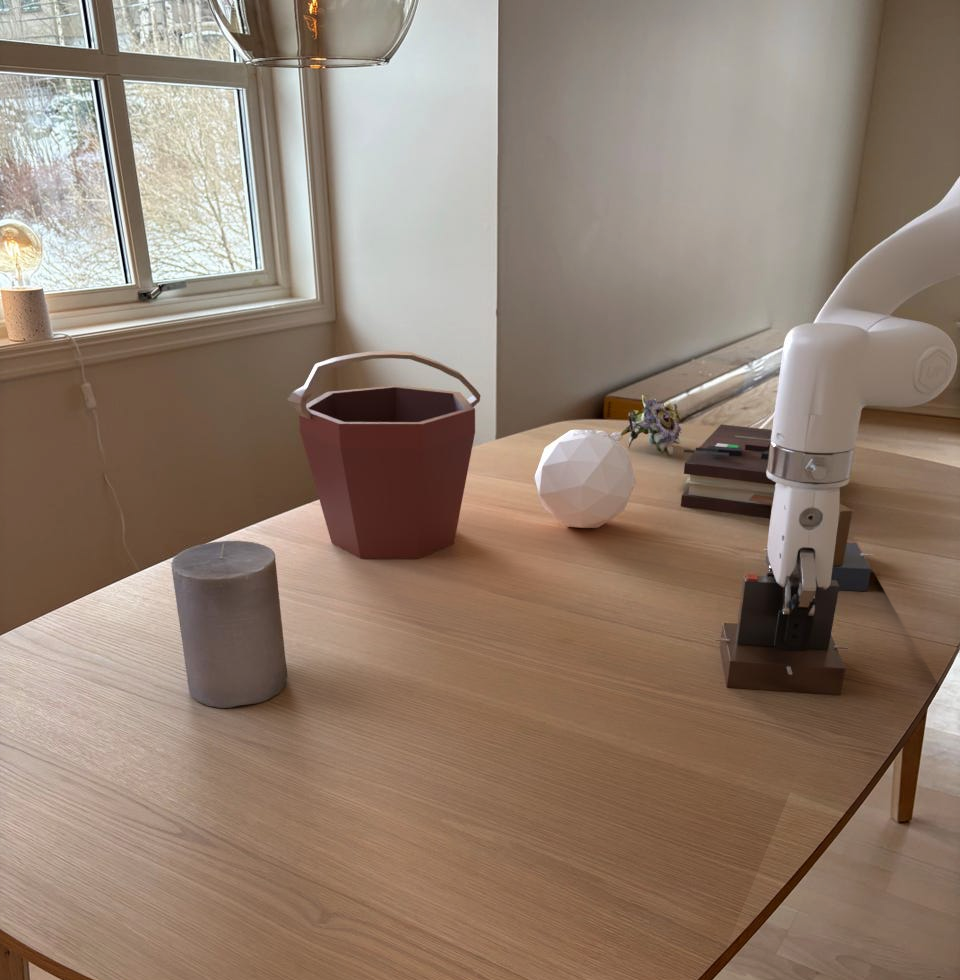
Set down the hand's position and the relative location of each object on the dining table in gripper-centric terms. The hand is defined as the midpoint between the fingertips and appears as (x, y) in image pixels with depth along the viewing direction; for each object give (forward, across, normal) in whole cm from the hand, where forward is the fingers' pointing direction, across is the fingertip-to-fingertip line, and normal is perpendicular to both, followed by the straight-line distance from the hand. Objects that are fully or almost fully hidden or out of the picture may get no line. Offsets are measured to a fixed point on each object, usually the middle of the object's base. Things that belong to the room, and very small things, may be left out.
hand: (783, 628), depth 100 cm
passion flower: (+5, +83, +12) cm, 84 cm away
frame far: (+2, +27, -8) cm, 28 cm away
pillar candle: (+5, -11, +54) cm, 55 cm away
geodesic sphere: (+5, +42, +22) cm, 48 cm away
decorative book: (+5, +62, -4) cm, 62 cm away
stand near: (+5, 0, 0) cm, 5 cm away
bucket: (+5, +33, +48) cm, 58 cm away
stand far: (+5, +27, -8) cm, 29 cm away
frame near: (+2, 0, 0) cm, 2 cm away
